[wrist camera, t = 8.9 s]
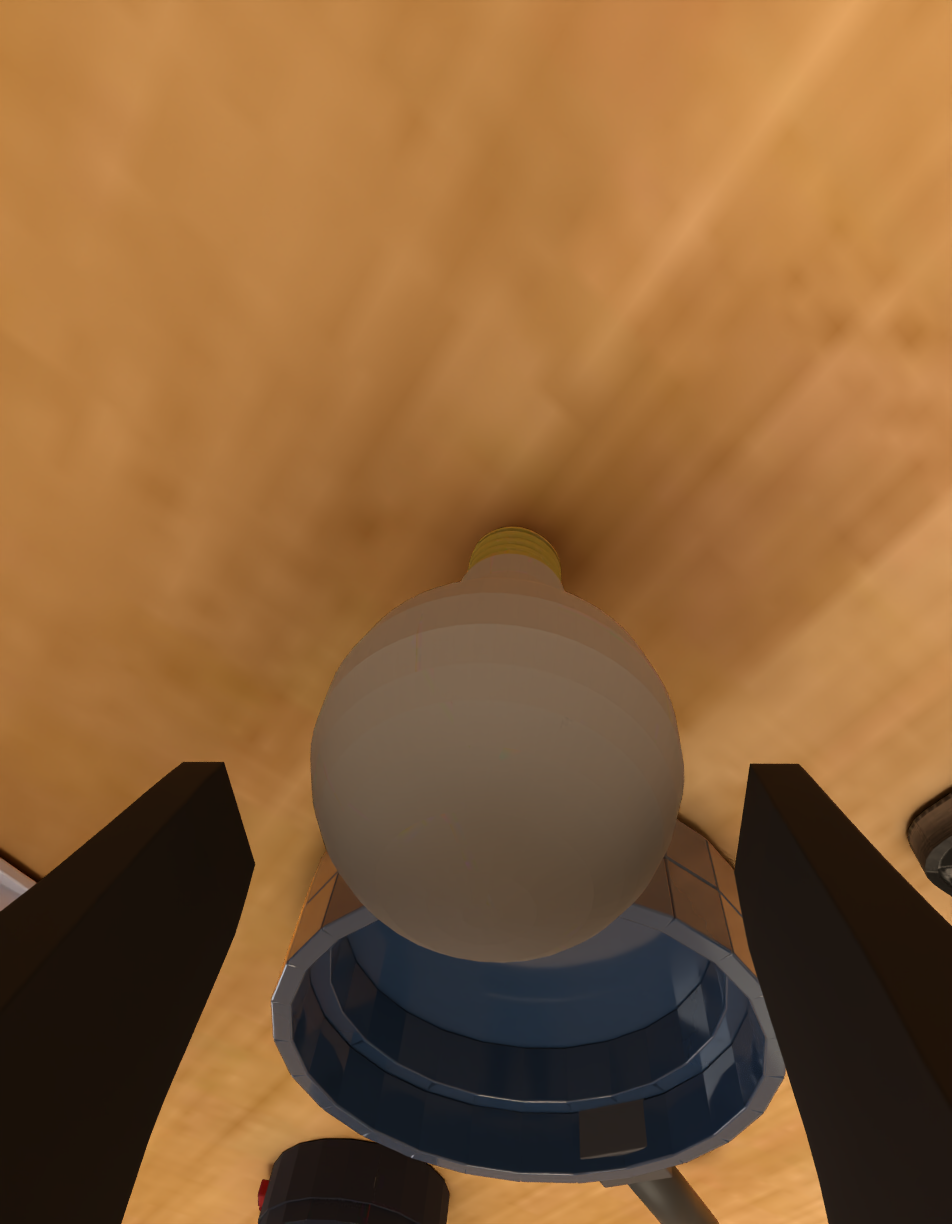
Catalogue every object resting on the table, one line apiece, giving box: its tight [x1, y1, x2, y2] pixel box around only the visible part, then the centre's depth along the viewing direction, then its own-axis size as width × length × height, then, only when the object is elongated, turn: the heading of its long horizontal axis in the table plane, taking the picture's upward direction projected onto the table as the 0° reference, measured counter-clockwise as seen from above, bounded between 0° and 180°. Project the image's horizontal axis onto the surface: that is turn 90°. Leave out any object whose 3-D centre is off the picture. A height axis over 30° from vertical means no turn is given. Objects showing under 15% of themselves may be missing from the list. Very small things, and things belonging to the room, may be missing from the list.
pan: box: [271, 819, 786, 1183], centre depth 23 cm, size 14×14×4 cm
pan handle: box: [579, 1099, 719, 1224], centre depth 26 cm, size 9×2×2 cm, turn 29°
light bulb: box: [310, 527, 684, 963], centre depth 13 cm, size 6×6×10 cm
